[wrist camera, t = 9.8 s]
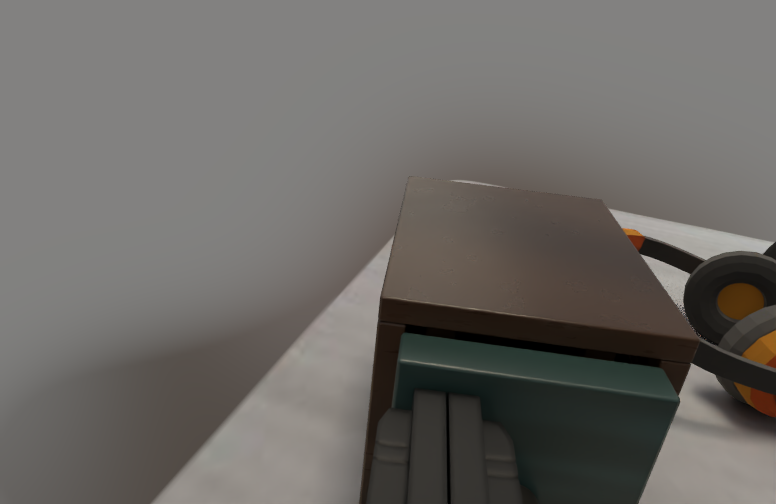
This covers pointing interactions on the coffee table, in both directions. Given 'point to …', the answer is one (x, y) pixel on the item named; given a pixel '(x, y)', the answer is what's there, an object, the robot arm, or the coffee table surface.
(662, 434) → the drawer
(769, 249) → the computer mouse
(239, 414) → the coffee table surface
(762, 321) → the headphones
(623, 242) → the cabinet
